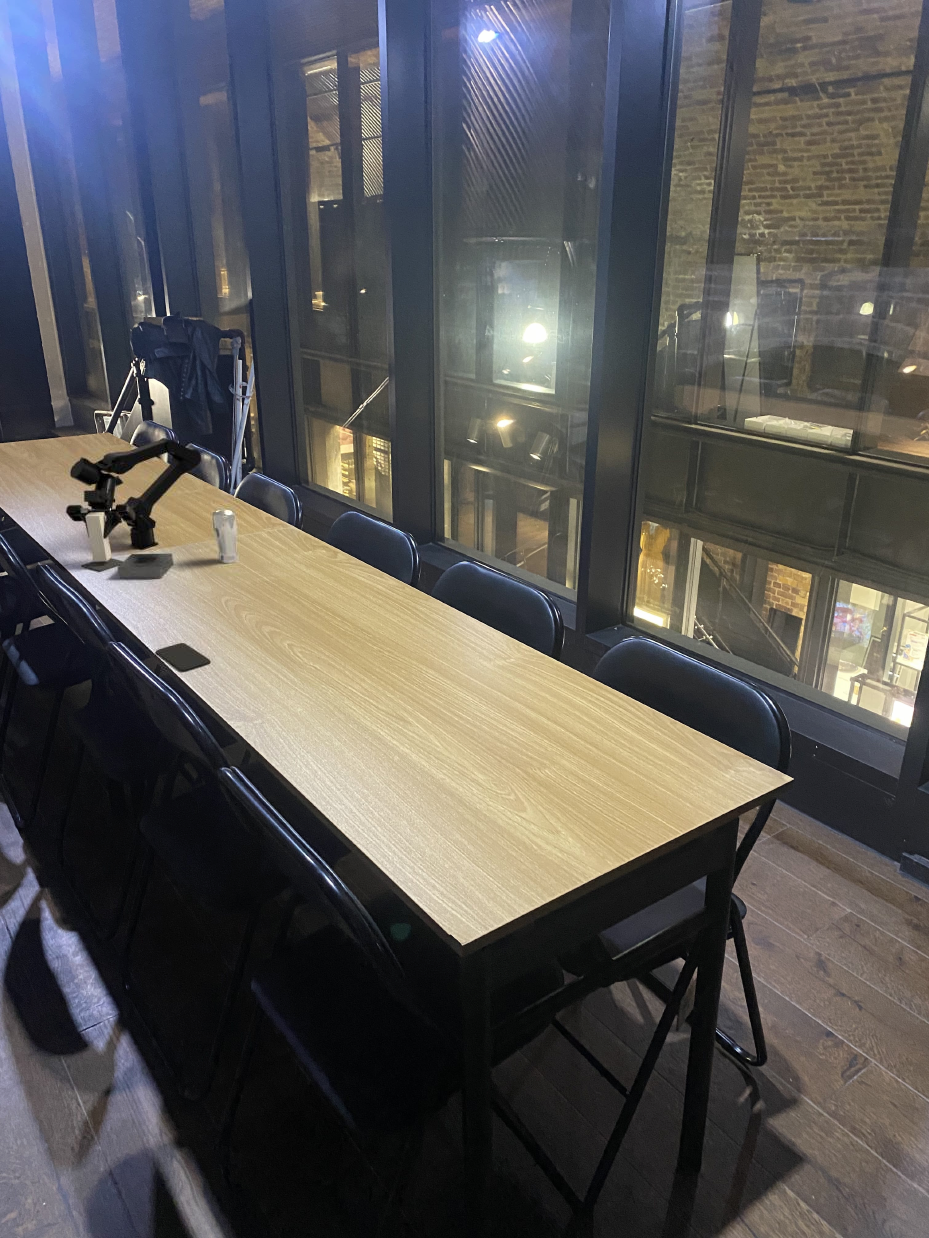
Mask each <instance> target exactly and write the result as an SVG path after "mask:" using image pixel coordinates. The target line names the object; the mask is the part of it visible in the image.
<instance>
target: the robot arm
mask: <svg viewBox="0 0 929 1238" xmlns="http://www.w3.org/2000/svg"><path fill="white" fill-rule="evenodd" d="M165 454H168V455H169V456H171V457H170V458H171V459H170V463H169V465H168V466H167V468H166V469H164V471H163V472H162V473H161V474H160V475H159V476H158V477H157V478H156V479H155V480H154V481H153V482H152V484H150V486H149V487H148V488H147V489H145V490H144V492H143V493H142V494H141V495H140V496H138V497H134V496H130V497H129V498H127V501H125V502H124V503H122V504H121V503H119V504H116V505H115V508H113V505H114V503H116V497H115V493H116V487H118V486H121V485H123V484H124V481H123V479H121V478H120V476H119V475H125V474H126V473H128V472H129V471H131V470H132V469H134V467H136V465H138V464H140V463H143V462H146V461H148V460H151V459H153V458H156V457H159V456H162V455H165ZM201 462H202V456H201V453H200V452H199V451H198V449H195V448H190V447H186V446H185V445H182V444H181V443H178V442H177V441H175V440H173V439H171V438H166V437H162V438H160V439H159V440H157V441H153V442H150V443H148V444H147V443H146V444H145V445H142V446H139V447H136V448H134V449H131V450H124V451H114V452H109V453H106V454H105V455H103V458H102V459H99V460H98V461H96V462H95V463H94V462H91V461H90V460H89V459H87V458H85V457H82V456H81V457H80V459H79V460H77V461H76V462H75V463H74V465H72V466H71V469H70V472H69V473H70V477H71V478H72V479H75V480H76V481H78V482H80V483H81V484H84V485H86V486H89V487H90V486H93V485H94V490H84V491H83V502H84V503H87V506H88V507H90V508H88V507H84V506H82V504H69V505H67V507H66V509H65V514H66V515H68V517H69V518H70V519H71V520H72V521H73V522H83V523H84V524H85V529H86V533H87V538H89V534H88V528H87V522H86V517H85V516H86V515H88V514H89V513H90V512H104V515H105V521H106V523H105V527H104V533H103V538H104V539H106V538H107V536H108V537H109V535H110V534H111V533H112V531H113V530H114V529H115V528H116V527H117V526H118V525H119V524H122V523H123V522H124V523H126V525H127V527H131V528H130V529H129V530H130V534H129V536H130V543H131V544H129V547H130V548H131V547H132V548H135V549H139V550H144V549H148V548H149V549H150V548H152V547H154V546H157V545H159V542H157V541H156V539H155V531H154V529H155V528H156V523H157V521H156V520H154V519H153V518H152V517H150V516H151V515H152V512H153V507H154V505H156V504H157V503H158V501H159V500H160V499H161V498H162V497H163V496H164V495H165V494H166V493H167V492H168V490H169V489H171V487H173V485H175V484H176V482H177V481H178V480H179V479H180V478H181V476H183V475H186V474H187V473H189V472H191V471H193V470H194V469H196V468H197V467H198V466H199V465H200V464H201ZM114 474H116V476H115V475H114Z"/></svg>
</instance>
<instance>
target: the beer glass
mask: <svg viewBox="0 0 929 1238" xmlns="http://www.w3.org/2000/svg"><path fill="white" fill-rule="evenodd" d="M211 517H212V531H213V534H214V538H215V541H216V545H217V549H218V557H217V559H218V562H219V563H222V564H234V563H236V562H238V561H239V559H240V557H239V554H238V550H237V541H238V539H237V538H238V527H237V525H238V523H237V517H236V513H235V511H234V510H232V509H220V510H219V509H218V510H215V511H213V512H211Z"/></svg>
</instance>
